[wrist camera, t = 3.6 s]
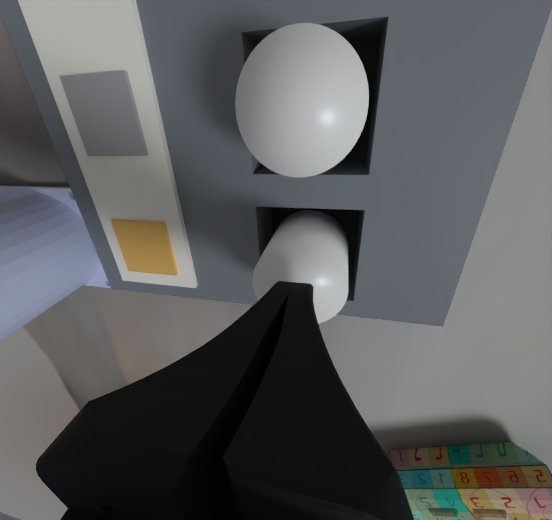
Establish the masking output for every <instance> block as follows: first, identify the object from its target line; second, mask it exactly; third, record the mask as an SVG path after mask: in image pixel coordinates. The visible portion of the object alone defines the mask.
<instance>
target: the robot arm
mask: <svg viewBox="0 0 552 520" xmlns="http://www.w3.org/2000/svg"><path fill="white" fill-rule="evenodd" d="M82 285H88V286H96V287H105V288H111V286H110V284H109V282H108V279H107V277H106V274H105V272H104V269H103V267H102V264H101V262H100V259H99V257H98V254H97V252H96V250H95V247H94V245H93V242H92V240H91V237H90V235H89V232H88V230H87V227H86V225H85V222H84V220H83V218H82V215H81V213H80V210H79V208H78V205H77V203H76V200H75V198H74V195H73V193H72V190H71V188H70V187H49V186H1V185H0V341H1V340H3V339H4V338H6V337H7V336H9V335H10V334H12V333H13V332H15V331H16V330H18V329H19V328H21V327H22V326H23V325H25V324H26V323H28V322H29V321H31V320H32V319H34V318H35V317H37V316H38V315H40V314H41V313H43V312H44V311H45V310H47V309H48V308H50V307H51V306H53V305H54V304H56V303H57V302H59V301H60V300H62V299H63V298H65V297H66V296H67V295H69V294H70V293H72V292H73V291H75V290H76V289H78V288H79V287H81V286H82ZM313 288H314V287H313V286H312V285H311V284H308V283H297V282H287V281H278V282H276V283H275V284H274V285H273V286H272V287H271V288H270V289H269V290H268V292H267V293H266V294H265V295H264V296H263V297H262V298H261V299H260V300H259V301H258V302H256V303H255V304H254V305H253V306H252V307H251V308H250V309H249V310H248V311H247V312H246V313H245V314H243V315H242V316H241V317H240V318H239V319H238V320H236V321H235V322H234V323H233V324H232V325H230V326H229V327H228V328H227V329H225V330H224V331H223V332H221V333H220V334H219V335H217V336H216V337H215V338H213V339H212V340H210V341H209V342H207V343H206V344H204V345H203V346H201V347H200V348H198V349H196V350H195V351H193V352H191V353H190V354H188V355H186V356H185V357H183V358H181V359H180V360H178V361H176V362H174V363H173V364H171V365H169V366H167V367H165V368H163V369H161V370H159V371H157V372H155V373H153V374H151V375H149V376H147V377H145V378H143V379H141V380H139V381H136V382H134V383H132V384H130V385H127V386H125V387H123V388H120V389H118V390H116V391H113V392H111V393H108V394H106V395H104V396H101V397H99V398H96V399H94V400H91V401H89V402H88V403H87V404H86V405H85V406H84V407H83V408H82V409H81V410H80V412H79V413H78V414H77V415H76V416H75V417H74V419H73V420H72V421H71V422H70V423H69V424H68V426H66V428H65V429H64V430H63V431H62V432H61V433H60V434H59V436H58V437H57V438H56V439H55V440H54V441H53V443H52V444H51V445H50V446H49V447H48V448H47V449H46V451H45V452H44V453H43V454H42V455H41V456H40V457H39V459H38V461H37V463H36V471H37V473H38V476H39V477H40V478H41V480H42V481H43V482H44V483H45V484H46V486H47V487H48V488H49V489H50V490H51V491H52V492H53V493H54V494H55V495H56V496H57V497H58V498H59V499H60V500H61V501H62V502H63V503H64V504H65V505H66V506H67V508H68V510H67V511H66V512H65V514H64V515H63V517H62V518H61V520H414V518H413V514H412V511H411V508H410V505H409V502H408V499H407V496H406V493H405V491H404V488H403V485H402V483H401V480H400V477H399V475H398V472H397V470H396V468H395V466H394V465H393V463H392V462H391V461H390V459H389V458H388V456H387V455H386V453H385V452H384V451H383V449H382V448H381V446H380V445H379V443H378V442H377V440H376V439H375V437H374V436H373V434H372V433H371V431H370V430H369V428H368V426H367V425H366V423H365V422H364V420H363V418H362V417H361V415H360V413H359V412H358V410H357V409H356V407H355V405H354V403H353V401H352V400H351V398H350V396H349V394H348V392H347V391H346V389H345V387H344V385H343V383H342V382H341V380H340V378H339V375H338V373H337V371H336V369H335V367H334V365H333V363H332V360H331V358H330V356H329V354H328V351H327V349H326V346H325V343H324V341H323V338H322V335H321V332H320V329H319V325H318V322H317V318H316V314H315V309H314V303H313ZM0 520H20V519H17V518H15V517H12V516H9V515H6V514H4V513H1V512H0Z"/></svg>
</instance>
